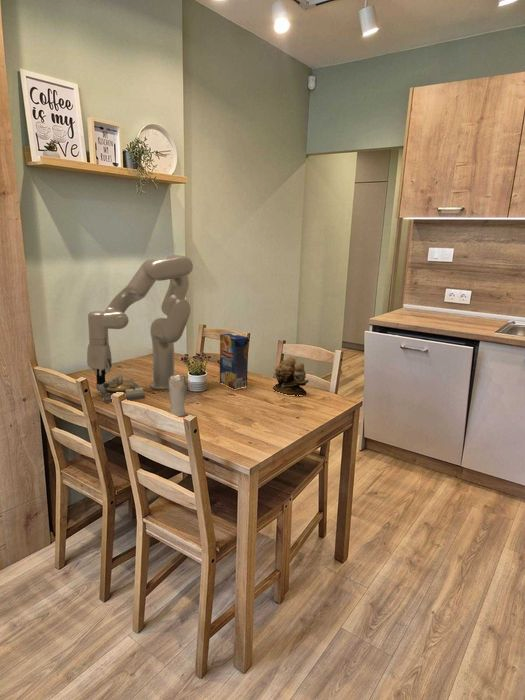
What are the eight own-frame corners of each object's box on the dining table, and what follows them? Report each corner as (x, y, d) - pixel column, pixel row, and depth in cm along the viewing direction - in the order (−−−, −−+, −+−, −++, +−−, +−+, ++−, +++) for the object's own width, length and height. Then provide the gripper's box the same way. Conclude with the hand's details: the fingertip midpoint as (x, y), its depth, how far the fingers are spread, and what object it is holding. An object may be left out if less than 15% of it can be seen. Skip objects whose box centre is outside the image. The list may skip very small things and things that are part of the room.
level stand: (132, 382, 209) (131, 374, 208) (144, 398, 189) (144, 389, 188) (96, 386, 202) (95, 378, 201) (105, 403, 181) (105, 394, 180)
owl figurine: (313, 393, 203) (316, 357, 199) (299, 400, 194) (301, 362, 190) (281, 384, 213) (283, 350, 209) (266, 390, 204) (268, 354, 200)
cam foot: (114, 382, 202) (113, 370, 200) (138, 385, 199) (138, 373, 198) (92, 395, 185) (91, 382, 184) (118, 398, 183) (117, 384, 181)
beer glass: (188, 411, 176) (188, 375, 172) (184, 418, 169) (183, 380, 165) (171, 410, 176) (171, 374, 173) (166, 417, 169) (165, 379, 166)
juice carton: (247, 387, 207) (248, 337, 201) (234, 390, 202) (235, 339, 197) (232, 381, 216) (233, 332, 210) (219, 383, 211) (220, 334, 206)
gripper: (79, 340, 184) (81, 382, 188) (104, 345, 177) (106, 389, 181) (93, 337, 190) (95, 378, 195) (119, 342, 184) (120, 384, 188)
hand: (101, 383), depth 188 cm, fingers closed
